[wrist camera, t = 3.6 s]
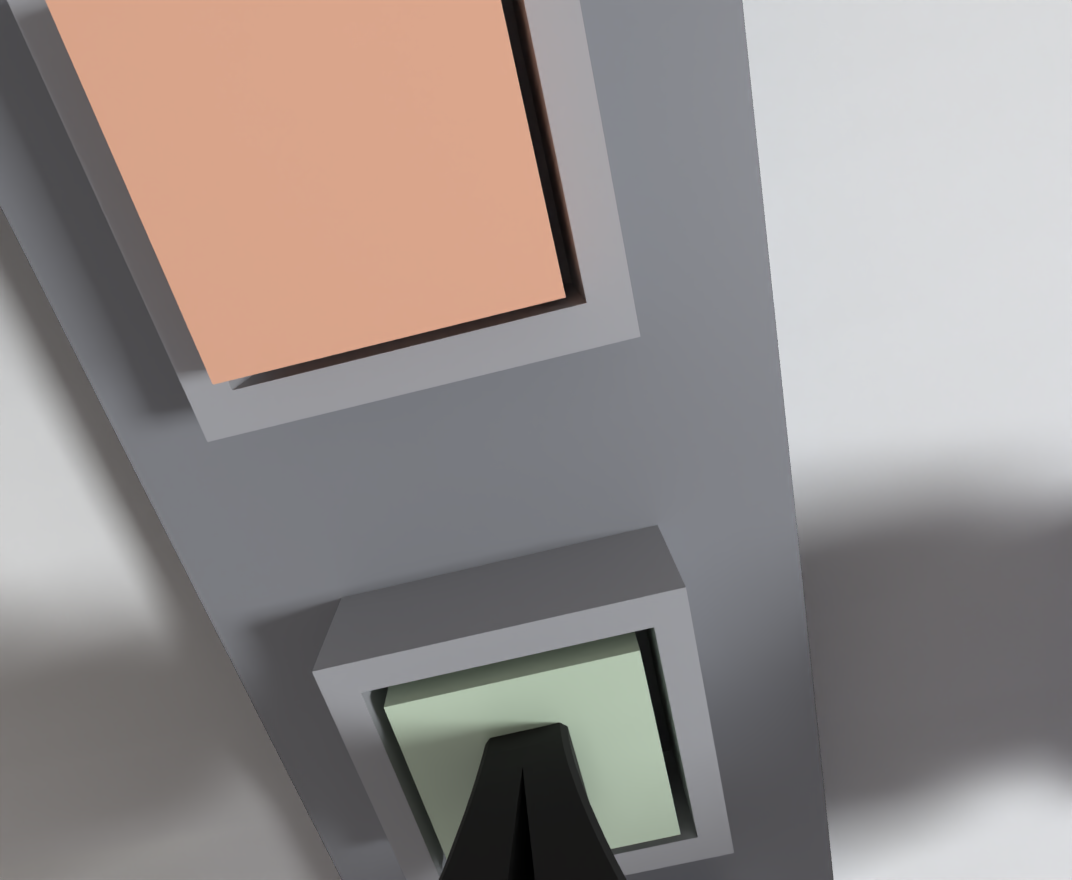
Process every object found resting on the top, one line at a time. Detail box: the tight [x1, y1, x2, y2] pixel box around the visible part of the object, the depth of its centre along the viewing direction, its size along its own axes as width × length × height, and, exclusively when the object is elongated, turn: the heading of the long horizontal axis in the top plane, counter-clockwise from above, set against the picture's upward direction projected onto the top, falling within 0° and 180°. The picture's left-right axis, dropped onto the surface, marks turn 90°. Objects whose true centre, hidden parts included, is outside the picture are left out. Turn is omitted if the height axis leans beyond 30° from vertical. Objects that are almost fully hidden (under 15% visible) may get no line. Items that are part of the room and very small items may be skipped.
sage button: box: [384, 632, 680, 859], centre depth 12 cm, size 4×4×2 cm
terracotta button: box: [45, 0, 566, 385], centre depth 8 cm, size 4×4×2 cm
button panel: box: [0, 0, 833, 880], centre depth 13 cm, size 27×11×4 cm, turn 13°
